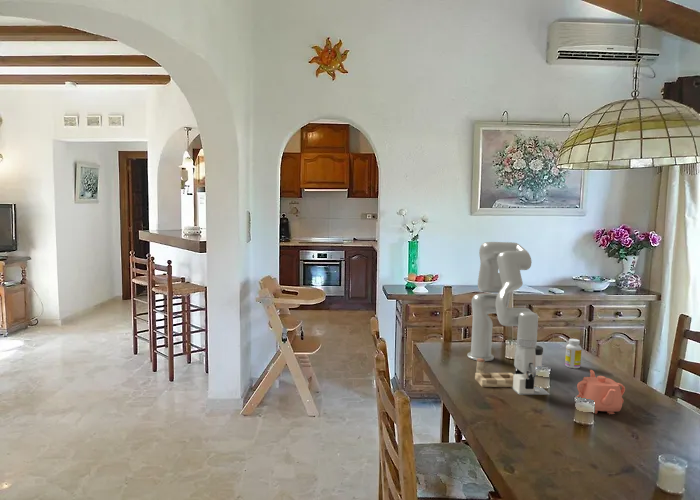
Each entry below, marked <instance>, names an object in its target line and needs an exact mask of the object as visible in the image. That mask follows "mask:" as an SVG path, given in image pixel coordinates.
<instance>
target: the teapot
mask: <svg viewBox="0 0 700 500" xmlns="http://www.w3.org/2000/svg"><path fill="white" fill-rule="evenodd" d="M589 372H590V373H589V374H590V376H584V377H582V380H581V381H578V382H577V385H576V389H577V391H578V394H577V395H576V398H577V397H581V398H586V399H591V400H594V402H595V414H594V415H597V414H598V413H599V412H606V413H607V414H608V413H609V414H608V415H610V414H615V415H616V413H615V412H621V410H622V407H623V404H624V398H623V395H624V394H625V392H626V387H625V385H624V384H622V383H621V382H616V381H615V380H613V379H612V378H609V377H606V376H604V375H597V376H596V374H595V371H594V370H593V369H589Z"/></svg>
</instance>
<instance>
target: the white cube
mask: <svg viewBox="0 0 700 500" xmlns="http://www.w3.org/2000/svg"><path fill="white" fill-rule="evenodd" d="M513 374H514V376H513V389H515V390H516V391H517V392H518V393H519V394H534V389H526V388H525V384H526V379H527V377H526V374H515V373H513ZM535 383H536V379H534V387H536V386H535V385H536V384H535ZM513 389H512V390H513ZM515 390H514V391H515ZM516 391H515V392H516ZM517 392H516V393H517ZM518 393H517V394H518ZM519 394H518V395H519Z"/></svg>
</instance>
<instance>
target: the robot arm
mask: <svg viewBox="0 0 700 500" xmlns="http://www.w3.org/2000/svg"><path fill="white" fill-rule="evenodd" d="M478 256H479V260H480V261H479V262H480V264H479V265H480V266H479V271H478V272H479V273H478V279H477V288H478V290H479V291H480V292H481V293H477V294H474V295H473V296H472V298H471V310H472V311H471V312H472V325H471V326H472V327H471V340H470V341H471V343H470V344H471V345H470V346H471V347H470V351H469V352H467V356H466V357H468V358H469V359H471V360H473V361H477V359H478V358H481V359H484V360H485V362H490V361H493V360H494V359H495V358H494V357H495V356H494V354H492V341H493V340H492V339H493V320H492V318H491V317H490V316H489V314H496V316H497V320H498V322H499V324H500V325H502V326H503V327H517V331H516V335H517V336H516V346H515V354H514V360H513V361H514V362H513V366H514V367H515V368H514V369H515V373H514V374H524V373H526V377H527V379H526V384H525V388H526V389H534V379H535V378H536V376H537V375H536V370H535V365H536V353H535V348H536V346H537V345H538V344H537V343H538V342H537V341H538V328H539V315H538V314H537V313H536V312H533V311H532V310H531V309H530V308H528V307H527V308H526V307H509V305H510V300H511V296H512V295H511V294H512V292H514V291H517V290H518V289H520V288H521V287H522V286H523V285H524V284H523V278H522V273H521V271H528V270H529V269H530V268H531V267H532V261H533V260H532V257H531V255H530V253H529V252H528V250H526V249H525V248H524V247H523V246H522V245H521V244H519V243H517V242H509V241H486V242H484V243H481V245H480V247H479V254H478ZM529 374H530V375H529ZM535 380H536V379H535Z"/></svg>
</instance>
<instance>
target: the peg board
mask: <svg viewBox="0 0 700 500" xmlns="http://www.w3.org/2000/svg"><path fill="white" fill-rule="evenodd" d="M514 374H515V373H513V372H484V373H476V372H475V373H474V380H475V381H476V382H477V383H478V384H479V385H480V386H481V388H483V387H485V388H486V387H488V388H492V387H494V388H495V387H496V388H497V387H498V388H502V387H503V388H507V387H508V388H509V387H510V388H511V387H513V376H514Z"/></svg>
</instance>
